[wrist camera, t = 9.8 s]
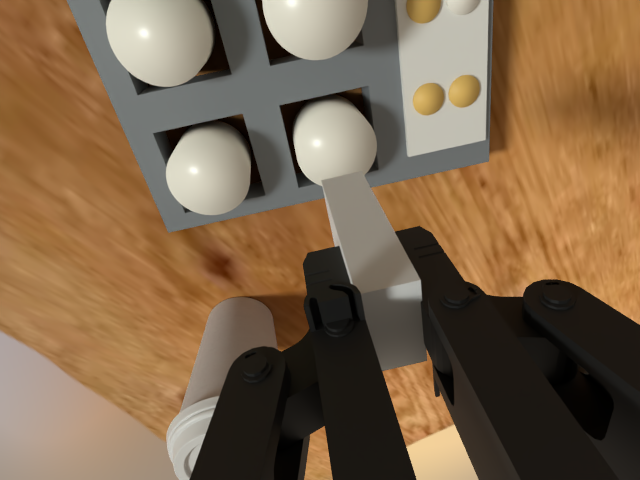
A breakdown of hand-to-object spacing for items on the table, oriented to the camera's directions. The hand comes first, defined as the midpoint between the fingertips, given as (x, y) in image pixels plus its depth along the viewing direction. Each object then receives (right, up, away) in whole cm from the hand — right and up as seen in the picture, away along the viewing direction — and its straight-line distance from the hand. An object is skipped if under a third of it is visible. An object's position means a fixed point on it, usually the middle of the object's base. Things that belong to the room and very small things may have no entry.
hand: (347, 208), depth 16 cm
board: (-2, +11, +15) cm, 19 cm away
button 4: (-2, +14, +10) cm, 17 cm away
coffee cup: (-9, -9, +27) cm, 30 cm away
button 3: (0, +7, +17) cm, 18 cm away
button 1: (-9, +5, +17) cm, 20 cm away
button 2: (-11, +13, +12) cm, 21 cm away
